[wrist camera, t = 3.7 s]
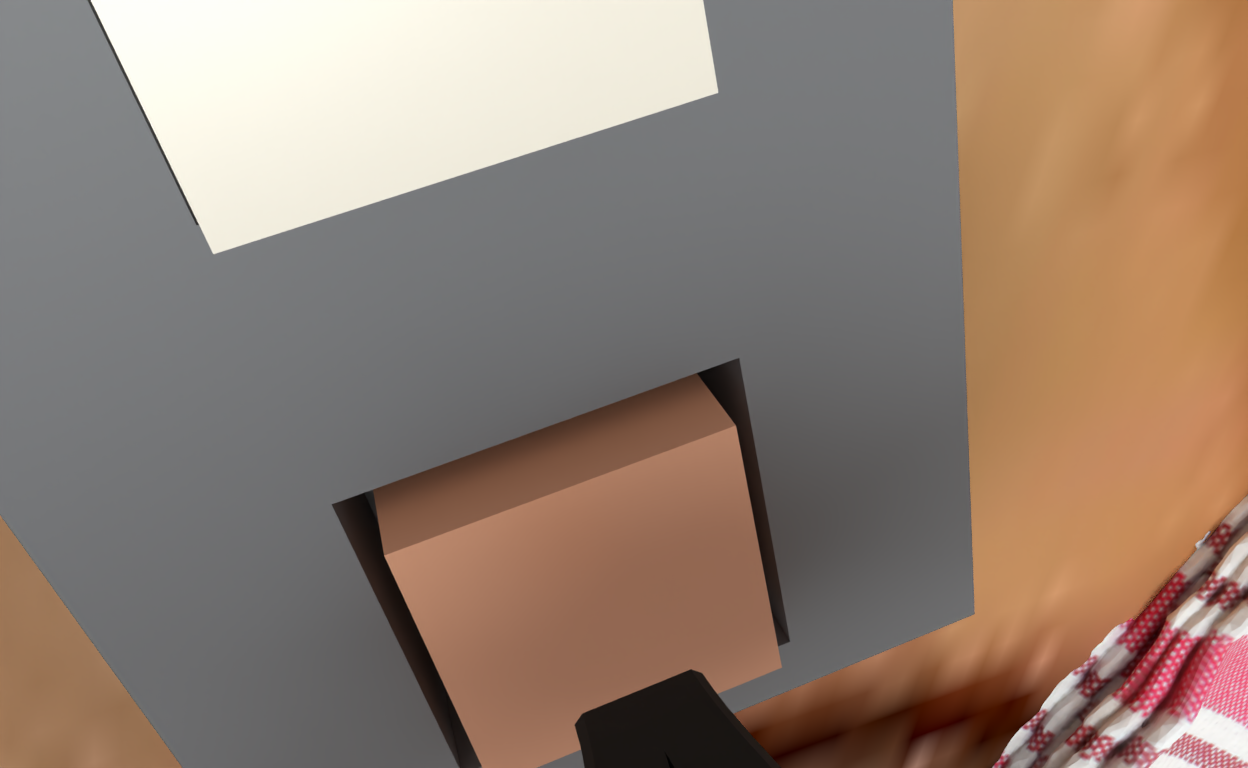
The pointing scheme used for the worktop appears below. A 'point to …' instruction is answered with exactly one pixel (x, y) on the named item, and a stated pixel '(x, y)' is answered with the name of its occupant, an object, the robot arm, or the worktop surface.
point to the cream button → (386, 92)
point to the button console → (477, 368)
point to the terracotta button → (583, 568)
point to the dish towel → (1159, 677)
